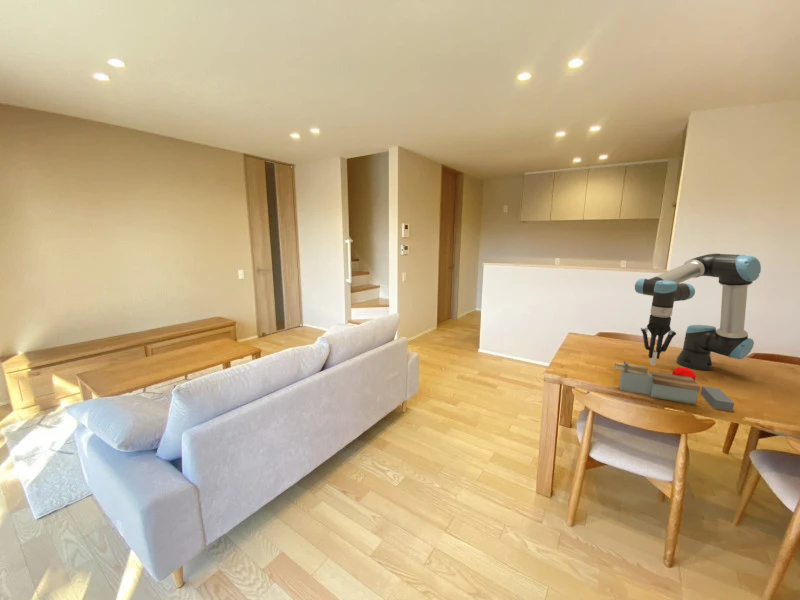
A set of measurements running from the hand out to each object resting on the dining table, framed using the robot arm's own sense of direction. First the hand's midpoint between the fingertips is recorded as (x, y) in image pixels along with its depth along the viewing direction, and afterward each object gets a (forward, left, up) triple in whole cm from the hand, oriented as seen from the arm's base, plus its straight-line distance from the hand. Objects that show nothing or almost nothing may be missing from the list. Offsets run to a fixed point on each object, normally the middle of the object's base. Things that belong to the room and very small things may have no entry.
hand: (652, 364), depth 151 cm
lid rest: (-2, +25, -14) cm, 29 cm away
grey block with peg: (0, -5, -14) cm, 15 cm away
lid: (0, +8, -7) cm, 11 cm away
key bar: (0, -8, -5) cm, 9 cm away
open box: (0, +8, -14) cm, 16 cm away
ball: (-19, +18, -15) cm, 30 cm away
